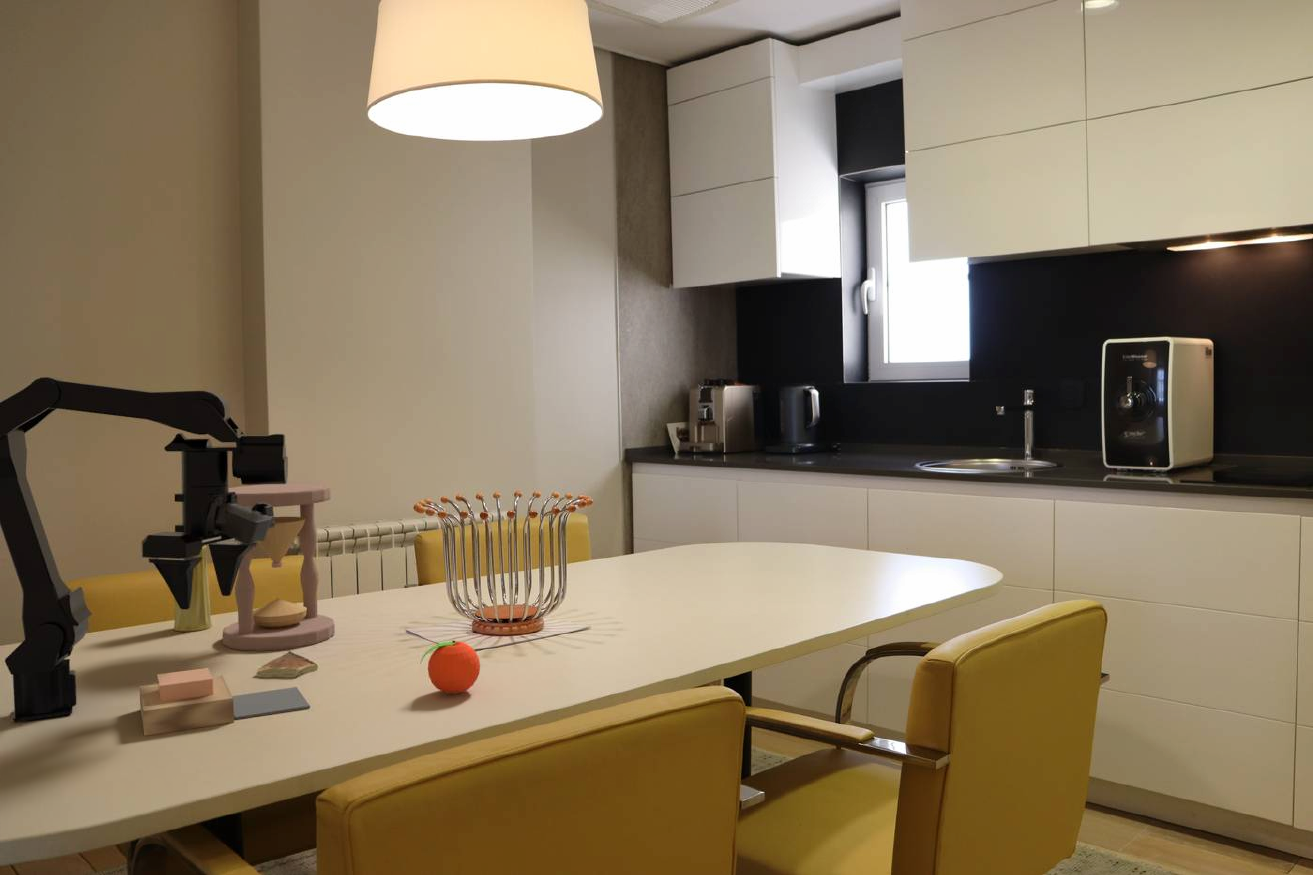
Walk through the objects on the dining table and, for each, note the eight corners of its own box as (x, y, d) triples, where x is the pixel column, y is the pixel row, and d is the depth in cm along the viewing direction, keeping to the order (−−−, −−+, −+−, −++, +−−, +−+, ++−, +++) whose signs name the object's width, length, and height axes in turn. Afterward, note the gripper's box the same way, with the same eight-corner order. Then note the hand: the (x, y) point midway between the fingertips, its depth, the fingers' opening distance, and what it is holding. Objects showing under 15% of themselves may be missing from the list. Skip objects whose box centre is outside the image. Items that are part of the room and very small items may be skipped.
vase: (167, 628, 183) (164, 547, 183) (202, 622, 188) (199, 542, 187) (182, 633, 179) (179, 550, 179) (218, 627, 184) (215, 546, 183)
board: (144, 735, 126) (143, 710, 126) (140, 709, 137) (139, 686, 136) (234, 722, 131) (233, 698, 131) (223, 697, 141) (222, 675, 141)
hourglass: (254, 657, 163) (248, 495, 162) (203, 640, 175) (198, 489, 173) (355, 636, 176) (350, 486, 175) (301, 621, 188) (297, 481, 186)
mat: (235, 719, 132) (235, 717, 132) (226, 699, 141) (226, 696, 141) (309, 708, 136) (309, 705, 136) (296, 689, 145) (296, 686, 145)
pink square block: (160, 701, 129) (159, 685, 129) (157, 689, 135) (157, 674, 135) (213, 694, 132) (212, 678, 132) (208, 683, 138) (208, 667, 137)
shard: (289, 660, 162) (289, 649, 162) (336, 661, 161) (336, 650, 161) (254, 680, 152) (253, 668, 151) (304, 681, 151) (304, 669, 150)
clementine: (426, 704, 137) (424, 650, 137) (415, 690, 143) (414, 638, 143) (486, 696, 140) (485, 643, 140) (473, 683, 146) (472, 632, 146)
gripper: (219, 493, 129) (220, 619, 130) (297, 481, 147) (298, 592, 148) (137, 491, 131) (139, 615, 132) (224, 479, 149) (225, 588, 150)
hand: (206, 602), depth 140 cm, fingers open, 9 cm apart
